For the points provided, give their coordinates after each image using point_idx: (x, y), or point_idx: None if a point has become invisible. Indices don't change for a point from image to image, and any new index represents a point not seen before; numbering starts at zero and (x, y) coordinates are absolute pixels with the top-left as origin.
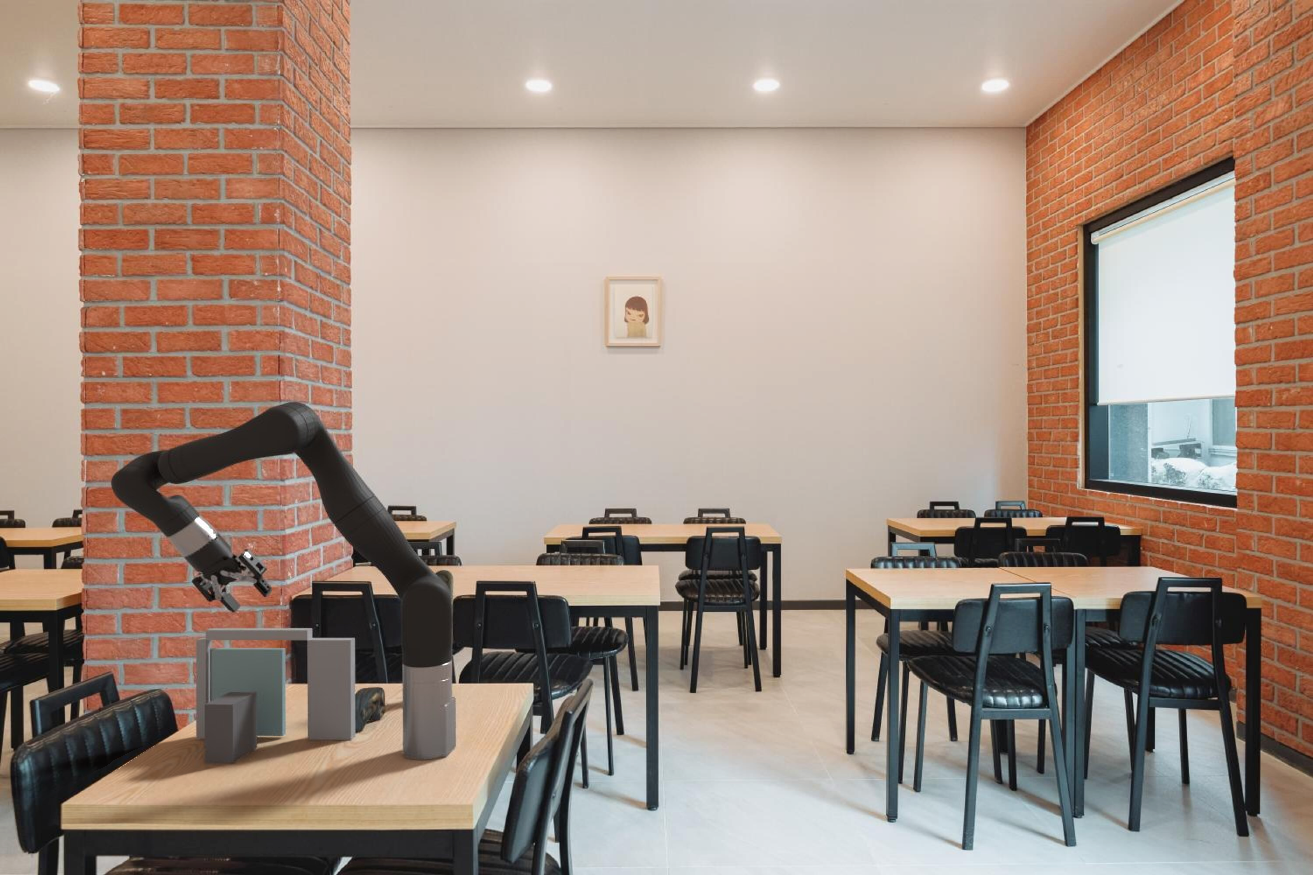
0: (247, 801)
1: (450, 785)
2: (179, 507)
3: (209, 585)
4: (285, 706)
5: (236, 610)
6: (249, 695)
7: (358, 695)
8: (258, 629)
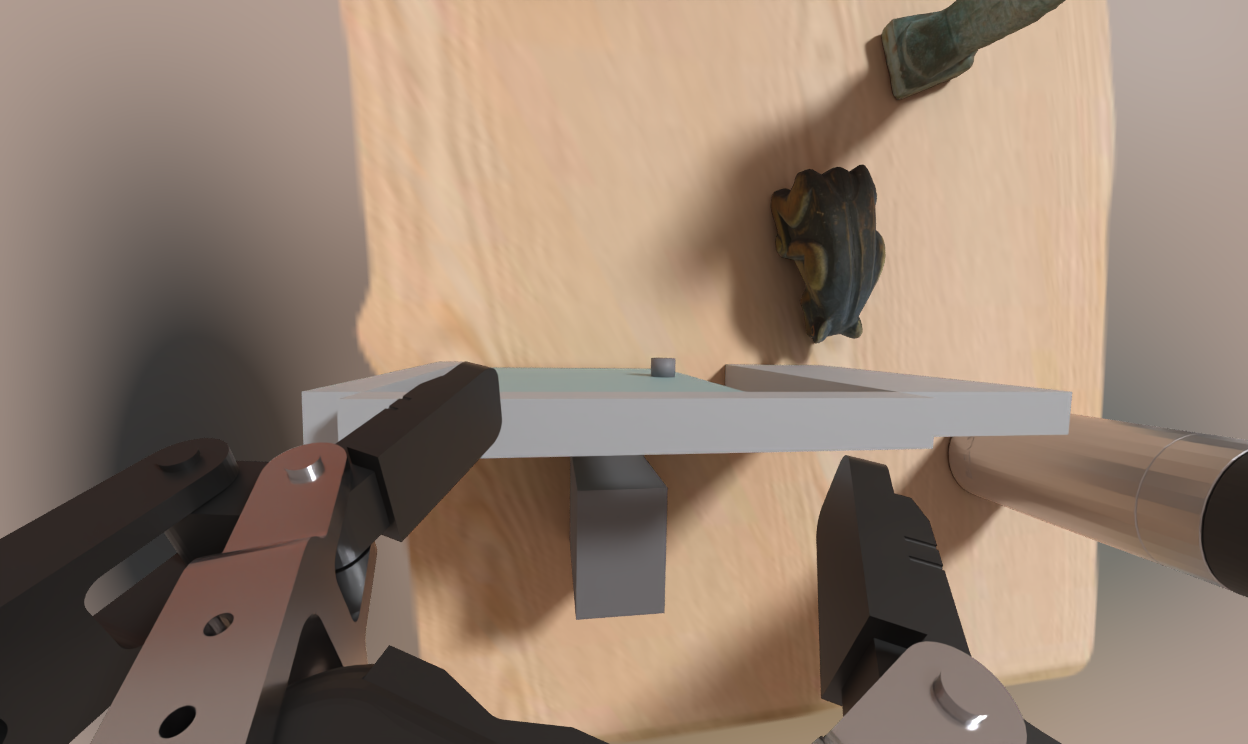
0: (761, 699)
1: (1056, 598)
2: None
3: (55, 626)
4: (683, 374)
5: (499, 421)
6: (664, 524)
7: (848, 282)
8: (667, 433)
